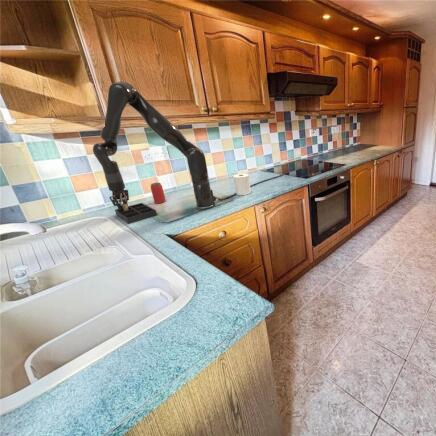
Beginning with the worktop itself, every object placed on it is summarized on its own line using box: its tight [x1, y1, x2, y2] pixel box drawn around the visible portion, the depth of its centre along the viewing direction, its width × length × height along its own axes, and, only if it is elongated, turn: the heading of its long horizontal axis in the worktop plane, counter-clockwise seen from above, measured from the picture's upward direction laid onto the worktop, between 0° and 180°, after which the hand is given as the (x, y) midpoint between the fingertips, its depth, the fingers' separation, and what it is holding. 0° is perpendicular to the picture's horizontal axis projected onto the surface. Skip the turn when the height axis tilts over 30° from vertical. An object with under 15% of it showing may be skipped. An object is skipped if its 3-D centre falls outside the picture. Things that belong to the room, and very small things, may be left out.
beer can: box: [150, 182, 166, 204], centre depth 162 cm, size 7×7×12 cm
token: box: [122, 203, 129, 211], centre depth 145 cm, size 4×4×4 cm
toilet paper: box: [233, 173, 252, 196], centre depth 171 cm, size 10×10×12 cm
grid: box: [114, 202, 158, 225], centre depth 144 cm, size 14×21×3 cm
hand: (124, 210), depth 146 cm, fingers closed on token, 4 cm apart
